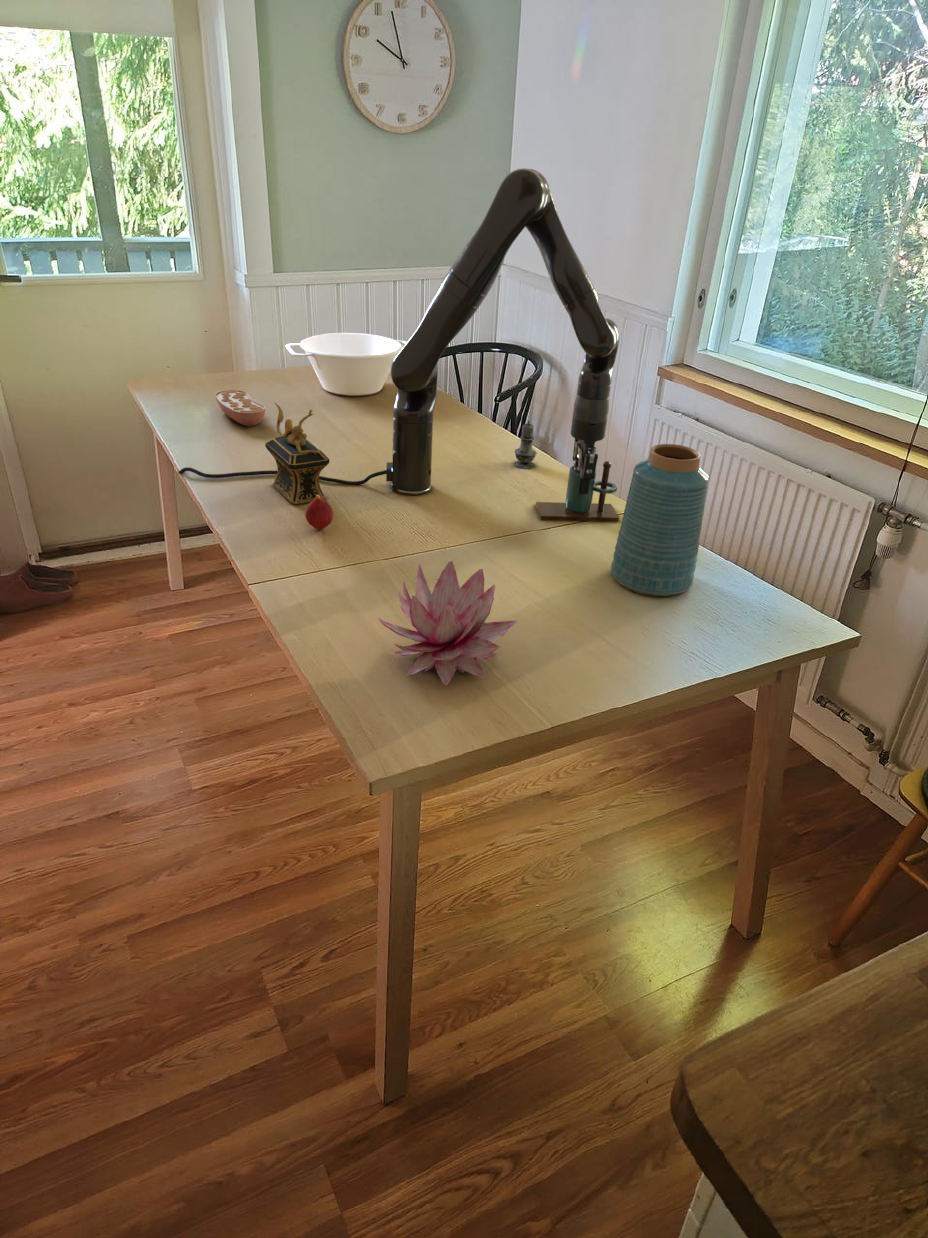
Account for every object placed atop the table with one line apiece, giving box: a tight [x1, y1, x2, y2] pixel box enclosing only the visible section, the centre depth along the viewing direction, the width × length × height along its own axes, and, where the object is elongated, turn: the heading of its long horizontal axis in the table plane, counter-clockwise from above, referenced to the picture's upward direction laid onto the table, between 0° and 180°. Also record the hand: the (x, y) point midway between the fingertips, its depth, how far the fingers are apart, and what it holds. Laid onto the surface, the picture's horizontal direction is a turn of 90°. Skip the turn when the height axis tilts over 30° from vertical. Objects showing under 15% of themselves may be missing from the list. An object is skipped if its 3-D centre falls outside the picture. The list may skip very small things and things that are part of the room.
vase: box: [610, 443, 710, 597], centre depth 161 cm, size 16×16×27 cm
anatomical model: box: [214, 389, 266, 427], centre depth 238 cm, size 23×10×5 cm, turn 32°
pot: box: [285, 332, 408, 397], centre depth 268 cm, size 40×32×14 cm
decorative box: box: [264, 402, 330, 505], centre depth 192 cm, size 20×10×20 cm, turn 31°
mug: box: [564, 465, 618, 512], centre depth 191 cm, size 11×6×9 cm, turn 94°
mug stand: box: [535, 460, 620, 523], centre depth 191 cm, size 18×8×13 cm, turn 94°
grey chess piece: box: [513, 419, 538, 470], centre depth 217 cm, size 6×6×12 cm
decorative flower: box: [376, 560, 518, 686], centre depth 134 cm, size 21×21×15 cm
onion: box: [304, 495, 334, 531], centre depth 177 cm, size 6×6×8 cm
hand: (580, 487), depth 191 cm, fingers closed on mug, 6 cm apart
